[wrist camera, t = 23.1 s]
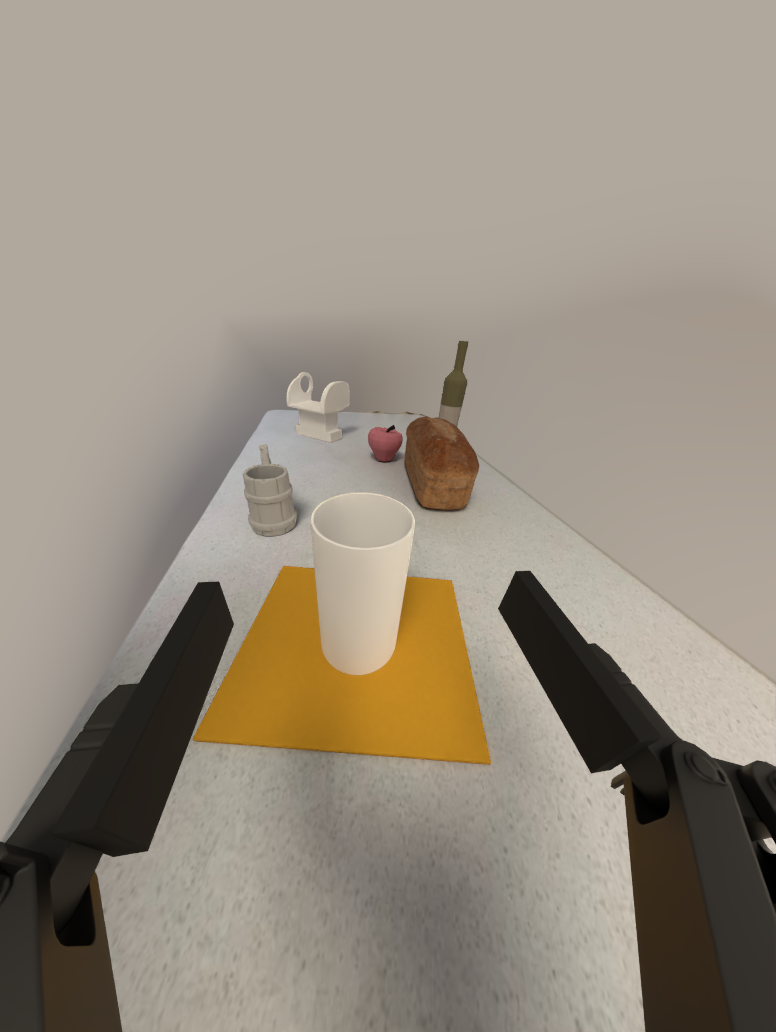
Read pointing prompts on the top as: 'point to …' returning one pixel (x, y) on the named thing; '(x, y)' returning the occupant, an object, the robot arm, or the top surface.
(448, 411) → the bottle
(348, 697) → the cloth
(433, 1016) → the top surface
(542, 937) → the top surface
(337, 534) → the cup
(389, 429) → the apple
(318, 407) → the white holder stand
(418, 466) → the bread
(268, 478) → the mug
